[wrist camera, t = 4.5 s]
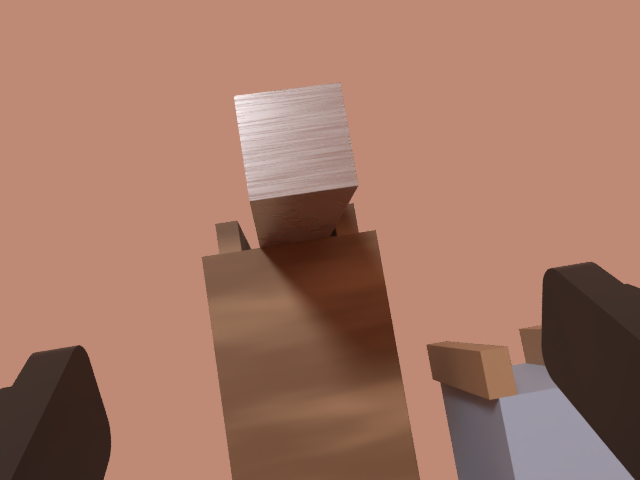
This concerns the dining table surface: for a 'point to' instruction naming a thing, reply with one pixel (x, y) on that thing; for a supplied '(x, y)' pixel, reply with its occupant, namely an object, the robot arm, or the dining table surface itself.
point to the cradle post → (515, 417)
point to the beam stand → (308, 358)
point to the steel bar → (296, 161)
